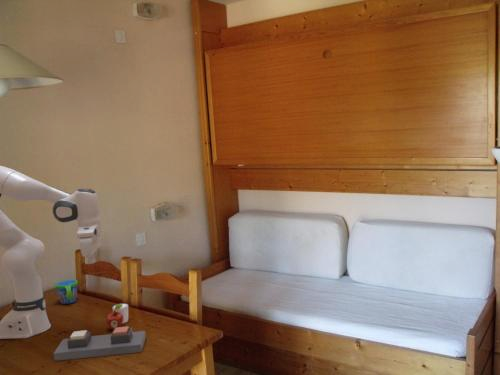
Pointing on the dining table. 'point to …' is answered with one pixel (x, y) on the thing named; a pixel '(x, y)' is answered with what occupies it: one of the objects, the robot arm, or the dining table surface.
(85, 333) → the key ivory
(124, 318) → the white short cylinder
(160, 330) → the dining table surface
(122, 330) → the key brick
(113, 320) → the apple
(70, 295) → the snack cup
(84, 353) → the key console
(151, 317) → the dining table surface
